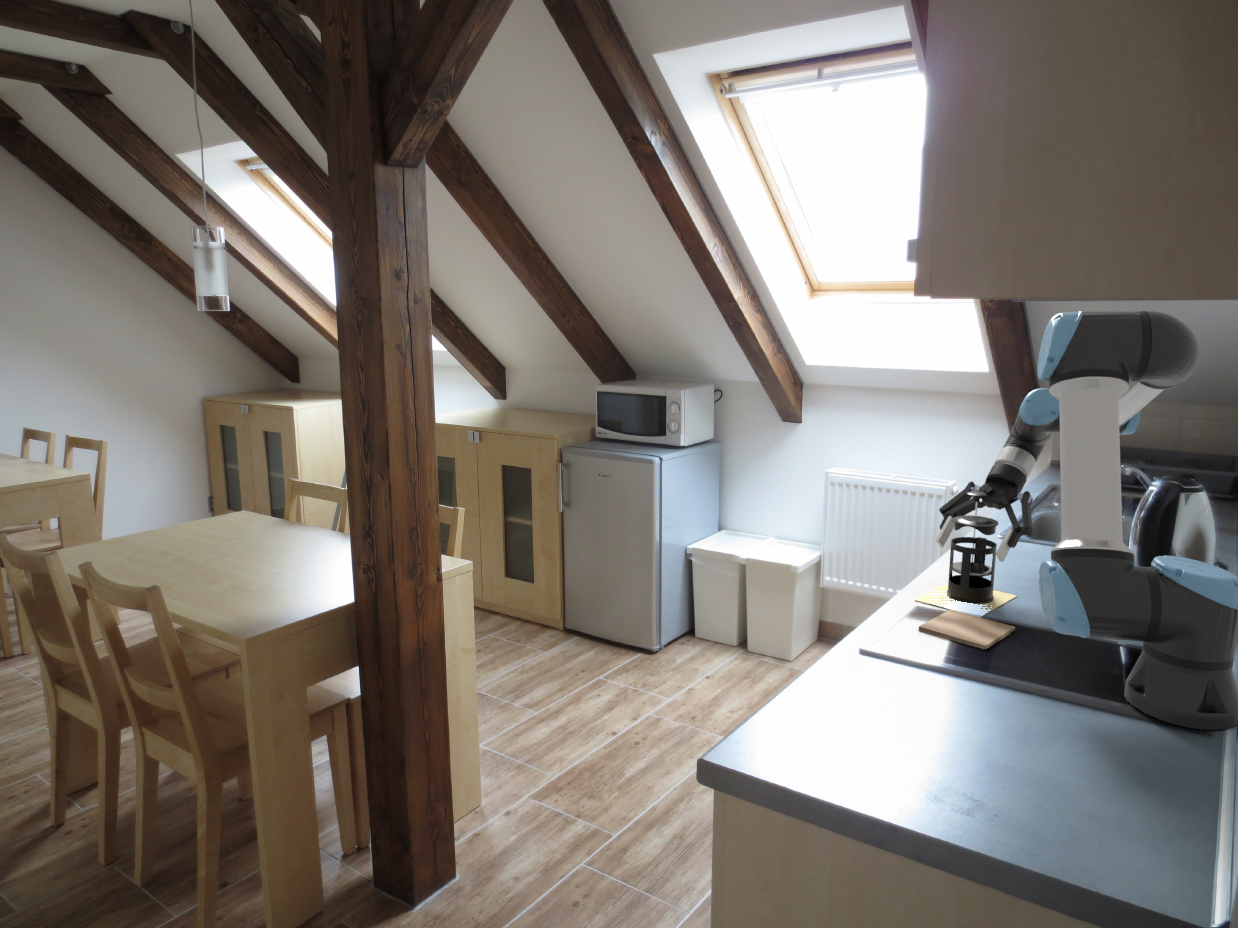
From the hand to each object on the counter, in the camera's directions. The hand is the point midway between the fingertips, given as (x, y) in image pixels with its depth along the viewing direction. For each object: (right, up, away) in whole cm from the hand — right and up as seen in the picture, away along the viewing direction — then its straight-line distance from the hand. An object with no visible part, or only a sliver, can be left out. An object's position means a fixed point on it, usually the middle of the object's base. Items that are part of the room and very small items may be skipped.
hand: (968, 550), depth 176 cm
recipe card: (0, -11, +2) cm, 11 cm away
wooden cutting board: (-7, -14, -15) cm, 22 cm away
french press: (+2, -10, +3) cm, 11 cm away
